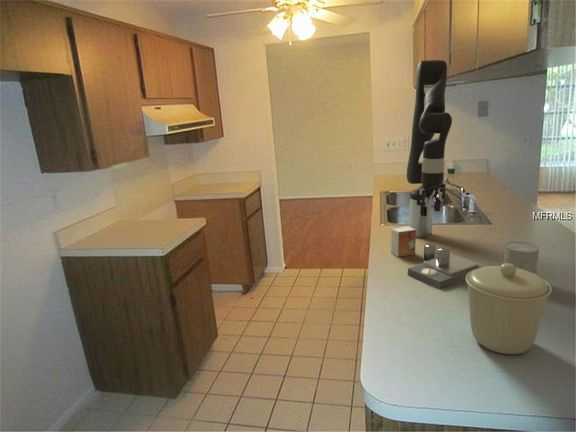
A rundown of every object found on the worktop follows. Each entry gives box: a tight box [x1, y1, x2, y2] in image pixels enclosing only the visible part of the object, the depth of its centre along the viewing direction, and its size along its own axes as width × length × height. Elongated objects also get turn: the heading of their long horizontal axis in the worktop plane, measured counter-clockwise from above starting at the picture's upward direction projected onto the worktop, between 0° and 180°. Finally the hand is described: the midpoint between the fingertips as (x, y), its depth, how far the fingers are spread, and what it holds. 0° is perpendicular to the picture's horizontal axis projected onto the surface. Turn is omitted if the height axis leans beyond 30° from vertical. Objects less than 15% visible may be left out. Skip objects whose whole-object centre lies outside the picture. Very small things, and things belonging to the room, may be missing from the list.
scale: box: [407, 263, 482, 289], centre depth 139 cm, size 21×14×3 cm, turn 119°
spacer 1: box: [423, 242, 437, 262], centre depth 152 cm, size 4×4×6 cm
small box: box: [390, 225, 417, 258], centre depth 159 cm, size 8×6×10 cm
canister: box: [464, 262, 553, 356], centre depth 96 cm, size 18×18×21 cm
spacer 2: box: [436, 246, 451, 268], centre depth 137 cm, size 4×4×6 cm
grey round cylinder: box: [503, 241, 540, 275], centre depth 129 cm, size 10×10×12 cm
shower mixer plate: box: [422, 253, 480, 275], centre depth 140 cm, size 14×12×1 cm
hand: (430, 213), depth 146 cm, fingers open, 8 cm apart
